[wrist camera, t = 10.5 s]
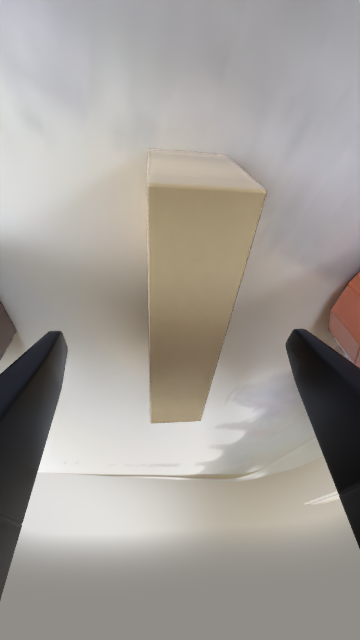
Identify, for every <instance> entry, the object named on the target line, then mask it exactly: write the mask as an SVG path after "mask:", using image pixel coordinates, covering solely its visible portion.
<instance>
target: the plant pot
mask: <svg viewBox="0 0 360 640" xmlns="http://www.w3.org/2000/svg"><path fill="white" fill-rule="evenodd" d="M328 329H329V331H330V333H331V334H332V336H333V338H334V339H335V341H336V342H337V344H338V345H339V346H340V348H341V349H342V350H343V352H344V353H345V354H346V356H347V357H348V359H349V360H350V361H351V362H352V363H353V364H355V365H356V366H357V367H359V368H360V272H359V273H358V274H357V275H356V276H355V277H354V278H353V279H352V280H351V281H350V282H349V283H348V285H347V286H346V287H345V289H344V290H343V292H342V294H341V295H340V297H339V298H338V300H337V301H336V303H335V304H334V306H333V307H332V310H331V314H330V321H329V328H328Z"/></svg>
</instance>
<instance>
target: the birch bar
mask: <svg viewBox="0 0 360 640" xmlns="http://www.w3.org/2000/svg"><path fill="white" fill-rule="evenodd" d="M266 194H267V191H266V189H265V188H263V187H262V186H261V185H260V184H259V183H258V182H257V181H255V180H254V179H253V178H252V177H251V176H250V175H249V174H247V173H246V172H245V171H244V170H243V169H242V168H241V167H239V166H238V165H237V164H236V163H235V162H234V161H233V160H232V159H230V158H229V157H228V156H227V155H226V154H214V153H200V152H187V151H173V150H160V149H149V150H148V163H147V183H146V196H147V254H148V313H149V372H150V422H151V423H169V422H188V421H200V420H201V417H202V414H203V410H204V407H205V404H206V400H207V397H208V393H209V390H210V386H211V383H212V379H213V376H214V373H215V369H216V366H217V362H218V359H219V355H220V352H221V349H222V345H223V342H224V338H225V335H226V331H227V328H228V324H229V321H230V318H231V314H232V311H233V307H234V304H235V300H236V297H237V293H238V290H239V287H240V283H241V280H242V276H243V273H244V269H245V266H246V262H247V259H248V256H249V252H250V249H251V245H252V242H253V238H254V235H255V232H256V228H257V225H258V221H259V218H260V214H261V211H262V207H263V204H264V201H265V197H266Z"/></svg>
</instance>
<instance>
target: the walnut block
mask: <svg viewBox="0 0 360 640" xmlns="http://www.w3.org/2000/svg"><path fill="white" fill-rule="evenodd" d="M15 333H16V330H15V328H14V326H13V324H12V322H11V321H10V319H9V317H8V315H7V313H6V311H5V310H4V308H3V306H2V304H1V302H0V360H1V358H2V356H3V355H4V353H5V351H6V349H7V347H8V346H9V344H10V342H11V340H12V338H13V337H14V335H15Z"/></svg>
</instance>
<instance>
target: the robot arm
mask: <svg viewBox="0 0 360 640" xmlns="http://www.w3.org/2000/svg"><path fill="white" fill-rule="evenodd" d="M286 350H287V354H288V358H289V361H290V365H291V369H292V373H293V376H294V380H295V383H296V385H297V388H298V391H299V393H300V396H301V398H302V401H303V404H304V406H305V409H306V411H307V414H308V416H309V419H310V422H311V424H312V427H313V429H314V432H315V434H316V437H317V440H318V442H319V445H320V447H321V450H322V453H323V455H324V458H325V460H326V463H327V465H328V468H329V471H330V473H331V476H332V478H333V481H334V483H335V486H336V489H337V491H338V494H339V497H340V499H341V502H342V505H343V507H344V510H345V512H346V515H347V517H348V520H349V523H350V525H351V528H352V530H353V533H354V535H355V538H356V540H357V543H358V545H359V548H360V368H359V367H357V366H356V365H355V364H353V363H352V362H350V361H349V360H348V359H346V358H345V357H343V356H342V355H341V354H339V353H338V352H336V351H335V350H334V349H332V348H331V347H329V346H328V345H327V344H325V343H324V342H322V341H321V340H319V339H318V338H317V337H315V336H314V335H312V334H311V333H310V332H308V331H307V330H305V329H294V330H293V331H292V333H291V334H290V336H289V338H288V340H287V342H286ZM67 351H68V348H67V344H66V341H65V338H64V335H63V333H62V332H61V331H49V332H48V333H46V334H45V335H44V336H43V337H42V338H41V339H40V340H39V341H37V342H36V343H35V344H34V345H33V346H32V347H31V348H29V349H28V350H27V351H26V352H25V353H24V354H23V355H22V356H20V357H19V358H18V359H17V360H16V361H15V362H14V363H12V364H11V365H10V366H9V367H8V368H7V369H6V370H5V371H3V372H2V373H1V374H0V599H1V595H2V592H3V589H4V585H5V582H6V578H7V575H8V571H9V568H10V565H11V561H12V558H13V554H14V551H15V547H16V544H17V541H18V537H19V534H20V530H21V527H22V525H21V524H22V522H23V519H24V516H25V512H26V509H27V506H28V502H29V499H30V495H31V492H32V488H33V485H34V482H35V478H36V474H37V471H38V468H39V464H40V461H41V458H42V454H43V451H44V447H45V444H46V440H47V437H48V434H49V430H50V427H51V423H52V420H53V416H54V413H55V410H56V406H57V403H58V399H59V396H60V392H61V388H62V383H63V376H64V370H65V364H66V358H67Z"/></svg>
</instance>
